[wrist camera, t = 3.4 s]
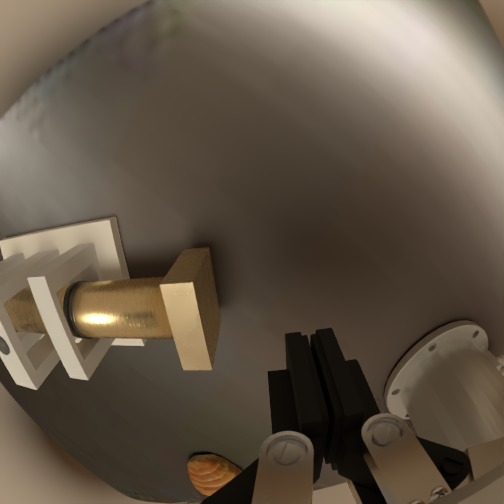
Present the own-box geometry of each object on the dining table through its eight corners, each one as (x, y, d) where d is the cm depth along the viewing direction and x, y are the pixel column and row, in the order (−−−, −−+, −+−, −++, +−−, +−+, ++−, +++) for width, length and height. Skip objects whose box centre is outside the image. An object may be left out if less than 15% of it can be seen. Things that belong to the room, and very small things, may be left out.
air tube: (209, 247, 18) (192, 282, 13) (221, 320, 19) (212, 369, 15) (27, 265, 18) (-11, 291, 14) (47, 321, 20) (16, 354, 15)
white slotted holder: (115, 216, 18) (34, 263, 10) (148, 338, 22) (107, 421, 13) (5, 238, 19) (-63, 275, 11) (38, 333, 22) (-10, 387, 14)
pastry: (175, 451, 28) (169, 475, 24) (227, 447, 27) (225, 474, 24) (206, 481, 31) (204, 503, 27) (252, 478, 30) (252, 500, 27)
